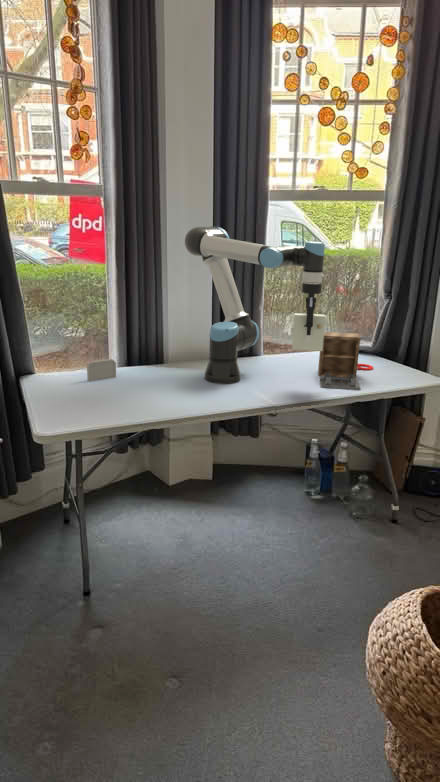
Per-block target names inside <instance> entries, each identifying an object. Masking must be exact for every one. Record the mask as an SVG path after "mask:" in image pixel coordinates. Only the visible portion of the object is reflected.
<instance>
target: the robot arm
mask: <svg viewBox="0 0 440 782" xmlns="http://www.w3.org/2000/svg"><path fill="white" fill-rule="evenodd" d="M184 245H185V248H186V250H187V251H188V253H189V254H190V255H193V256H197V257H201V259H202V262H203V264H205V265H208V268H209V272H210V274H211V277H212V282H213V284H214V287H215V290H216V292H217V295H218V299H219V302H220V305H221V308H222V311H223V315H224V317H225V318H224V320H223V321H219V322H216V323H213V324H212V325H211V327H210V329H209V352H208V353H209V359H208V360H209V361H208V362H207V365H206V369H205V371H204V380H206V381H208V382H211V383H214V384H223V385H225V384H235V383H238V382H240V380H241V376H242V375H241V370H240V368H239V363H238V352H239V351H241V350H245V349H249V348H251V347H252V346H254V345H255V344H256V343H258V340H259V338H260V329H259V326H258V324H257V323H256V322H255V321H253V320H252V319H251V317H250V314H249V313H247V312H245V309H244V307H243V304H242V301H241V297H240V293H239V291H238V288H237V285H236V283H235V279H234V276H233V273H232V269H231V267H230V263H229V260H233V261H239V262H244V263H249V264H256V265H259V266H263V267H264V268H267V269H276V268H283V267H289V266H290V267H291V266H292V267H293V266H294V267H302V268H303V271H302V280H301V281H302V284H301V292H302V293H304V294H307V296H305V309H306V313H305V314H307V319H306V325H304V327H306V328H305V341H304V343H311V340H312V326H313V314H315V313H314V312H315V309H316V303H317V297H315V295H319V294H321V293H322V285H323V284H322V282H323V278H324V276H325V275H324V274H323V271H324V270H323V269H324V261H325V244H324V242H321V241H306V242H305V243H304V246H298V245H297V246H296V245H287V244H285V245H284V244H282V245H281V244H280V245H278V246H271V245H266V244H262V243H261V244H259V243H254V242H251V241H243V240H238V239H233V238H230V236H229V234H228V232H227V231H226V230H225V229H223V228H222V227H220V226H211V225H210V226H196V227H193V228H191V229H190V230H188V232H187V233H186V235H185V237H184ZM228 259H229V260H228Z"/></svg>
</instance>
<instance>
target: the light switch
mask: <svg viewBox="0 0 440 782" xmlns="http://www.w3.org/2000/svg"><path fill="white" fill-rule="evenodd" d="M86 377H87V379H86V380H87V381H88V382H92V381H97V380H104V379H111V378H117V362H116V361H115V360H114V359H112V358H107V359H99V360H92V361H89V362H88V363H87V364H86Z"/></svg>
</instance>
